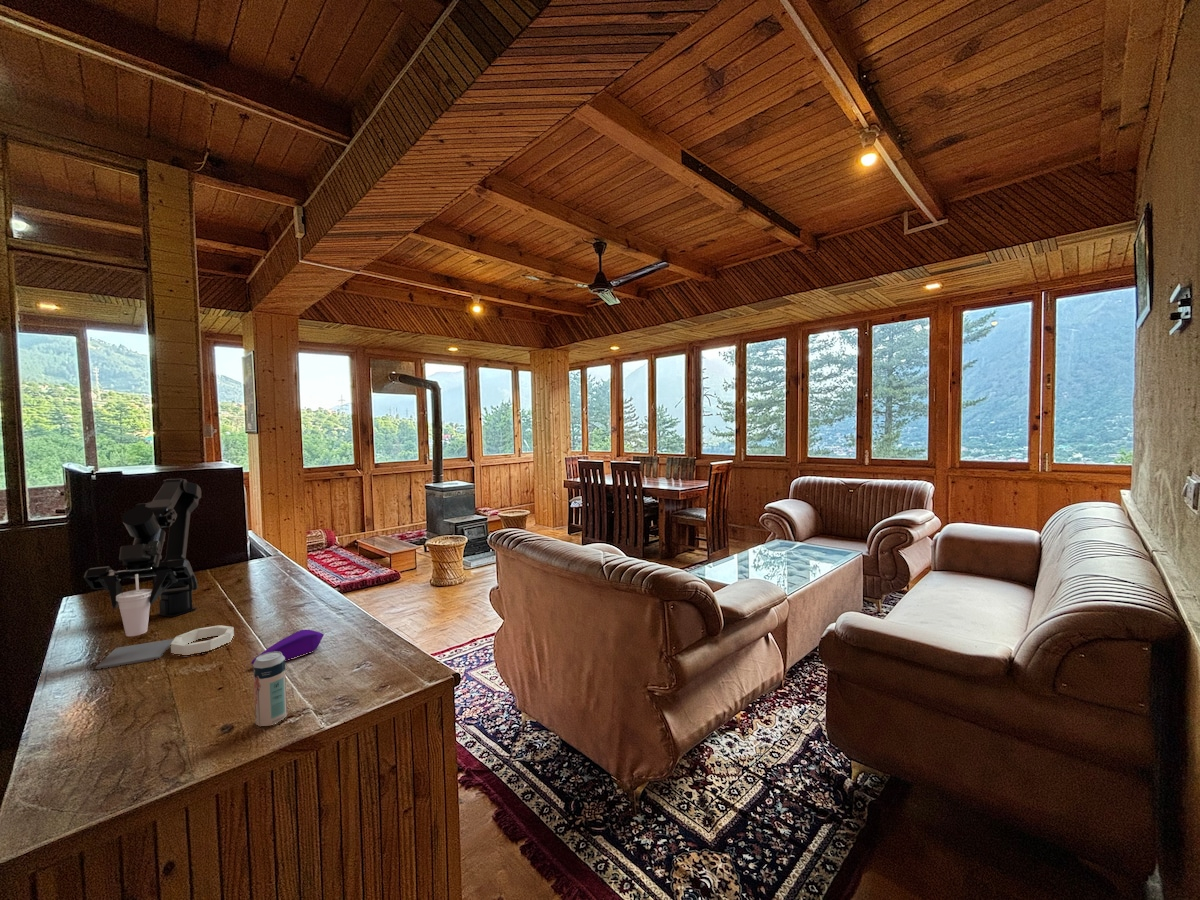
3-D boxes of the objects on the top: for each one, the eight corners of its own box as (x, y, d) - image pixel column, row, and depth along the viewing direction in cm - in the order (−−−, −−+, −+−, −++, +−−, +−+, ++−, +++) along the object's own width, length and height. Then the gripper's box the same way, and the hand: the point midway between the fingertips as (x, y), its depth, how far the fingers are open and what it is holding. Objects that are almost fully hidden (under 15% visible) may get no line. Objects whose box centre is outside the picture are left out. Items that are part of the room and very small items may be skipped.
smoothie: (155, 633, 117) (152, 574, 116) (117, 641, 112) (113, 581, 111) (154, 625, 121) (151, 569, 120) (118, 632, 117) (114, 574, 116)
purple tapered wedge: (246, 650, 110) (318, 622, 121) (249, 670, 111) (321, 641, 122) (252, 656, 107) (326, 627, 118) (256, 677, 107) (329, 646, 119)
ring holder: (211, 633, 129) (210, 623, 129) (243, 638, 125) (243, 628, 125) (161, 652, 118) (160, 642, 118) (195, 658, 114) (195, 647, 114)
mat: (116, 650, 119) (116, 647, 119) (174, 640, 124) (174, 638, 124) (95, 669, 109) (95, 667, 109) (159, 658, 114) (159, 656, 114)
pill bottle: (265, 714, 91) (263, 650, 91) (292, 712, 92) (290, 649, 91) (249, 730, 87) (246, 663, 86) (278, 728, 87) (275, 661, 86)
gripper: (84, 534, 115) (63, 595, 105) (186, 526, 123) (175, 582, 114) (101, 559, 122) (83, 618, 113) (196, 550, 131) (186, 604, 121)
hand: (132, 605), depth 115 cm, fingers closed on smoothie, 6 cm apart
